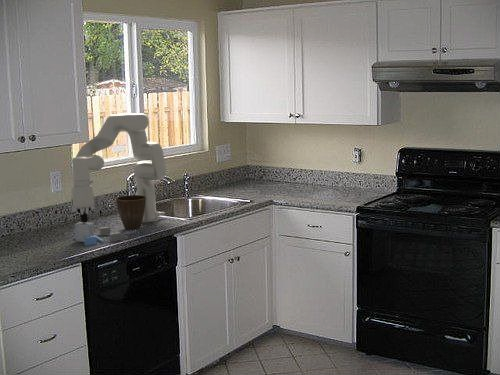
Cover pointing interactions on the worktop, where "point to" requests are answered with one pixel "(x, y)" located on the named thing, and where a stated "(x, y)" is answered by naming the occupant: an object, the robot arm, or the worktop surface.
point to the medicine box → (83, 230)
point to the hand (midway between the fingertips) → (84, 222)
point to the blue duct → (91, 240)
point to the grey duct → (112, 234)
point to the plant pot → (131, 210)
